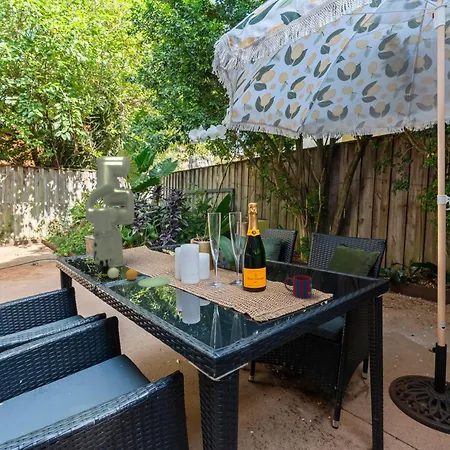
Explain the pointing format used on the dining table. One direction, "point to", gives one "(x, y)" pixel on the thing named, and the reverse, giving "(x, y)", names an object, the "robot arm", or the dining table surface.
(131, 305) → the dining table surface
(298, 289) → the mug
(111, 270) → the ivory ball
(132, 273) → the orange ball
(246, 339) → the dining table surface
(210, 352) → the dining table surface
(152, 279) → the mint mark
